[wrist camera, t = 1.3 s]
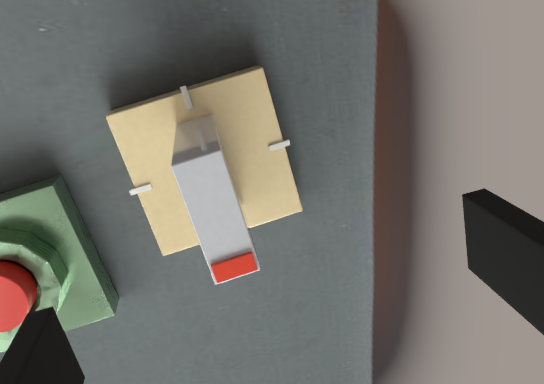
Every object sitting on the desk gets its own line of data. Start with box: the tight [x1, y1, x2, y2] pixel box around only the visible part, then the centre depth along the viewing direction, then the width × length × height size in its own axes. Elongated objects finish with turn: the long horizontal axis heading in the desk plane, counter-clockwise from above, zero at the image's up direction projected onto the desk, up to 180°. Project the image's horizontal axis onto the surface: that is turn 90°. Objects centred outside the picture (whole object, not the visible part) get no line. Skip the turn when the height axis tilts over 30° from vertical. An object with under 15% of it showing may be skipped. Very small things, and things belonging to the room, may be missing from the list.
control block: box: [0, 175, 119, 353], centre depth 32 cm, size 10×10×4 cm
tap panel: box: [106, 65, 303, 256], centre depth 32 cm, size 11×11×2 cm
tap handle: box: [171, 114, 261, 285], centre depth 27 cm, size 6×2×9 cm, turn 16°
